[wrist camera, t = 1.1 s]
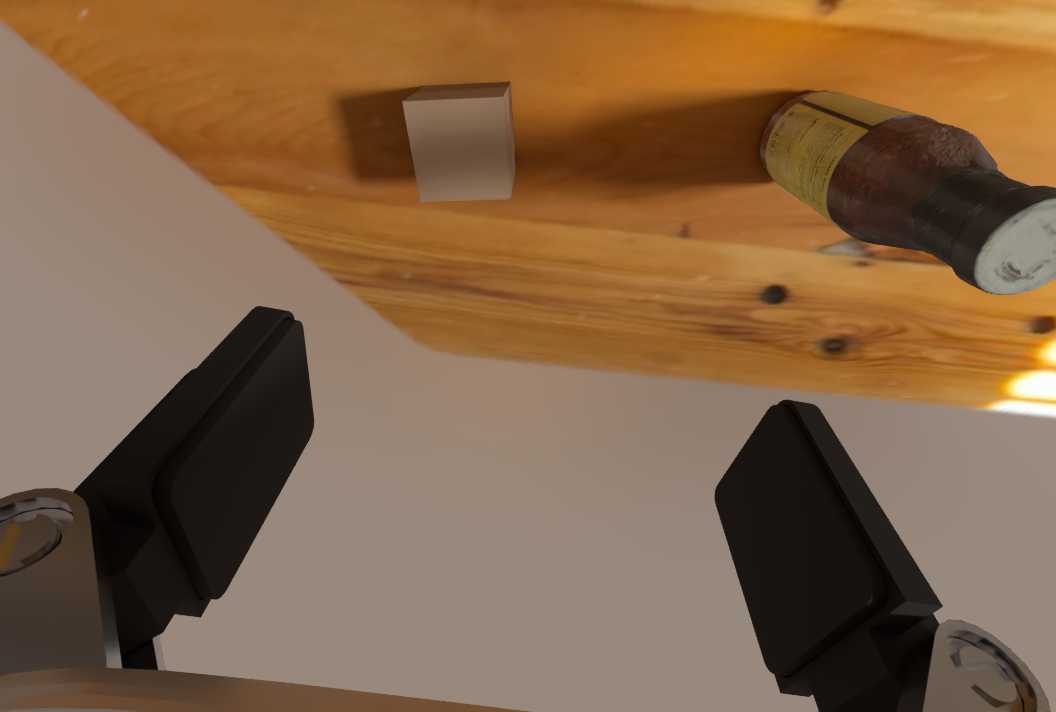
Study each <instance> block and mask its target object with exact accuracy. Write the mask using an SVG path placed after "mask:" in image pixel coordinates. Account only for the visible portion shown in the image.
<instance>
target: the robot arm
mask: <svg viewBox="0 0 1056 712" xmlns="http://www.w3.org/2000/svg"><path fill="white" fill-rule="evenodd" d="M313 427H314V415H313V407H312V398H311V389H310V381H309V372H308V364H307V355H306V347H305V339H304V330H303V325H302V323H301V322H300V321H297V320H294V316H293V314H292V313H291V312H289V311H285V310H279V309H273V308H268V307H262V306H257V307H255V308H254V309H252V310H251V311H250V312H249V314H248V315H247V316H246V317H245V318H244V319H243V320H242V321H241V322H240V323H239V324H238V325H237V326H236V327H235V328H234V329H233V330H232V331H231V332H230V334H229V335H228V336H227V337H226V338H225V339H224V340H223V341H222V342H221V343H220V344H219V345H218V346H217V347H216V348H215V349H214V351H213V352H211V353H210V355H209V356H208V357H207V358H206V359H205V360H204V361H203V362H202V363H201V364H200V365H199V366H198V367H197V368H196V369H193V370H191V371H190V372H189V373H188V374H186V375H185V376H184V377H183V378H182V379H181V380H180V381H179V382H178V384H176V385H175V387H174V388H173V389H172V390H171V391H170V392H169V393H168V394H167V395H166V396H165V397H164V398H163V399H162V400H161V401H160V402H159V403H158V404H157V405H156V406H155V407H154V408H153V409H152V410H151V411H150V413H148V415H147V416H146V417H145V418H144V419H143V420H142V421H141V422H140V423H139V424H138V425H137V426H136V427H135V428H134V429H133V430H132V431H131V432H130V433H129V434H128V435H127V437H125V438H124V439H123V441H122V442H121V443H120V444H119V445H118V446H117V447H116V448H115V449H114V450H113V451H112V452H111V453H110V454H109V455H108V456H107V457H106V458H105V459H104V460H103V461H102V462H101V463H100V464H99V465H98V466H97V467H96V469H95V470H94V471H93V472H92V473H91V474H90V475H89V476H88V477H87V478H86V479H85V480H84V481H83V482H82V483H81V484H80V485H79V486H78V487H77V488H76V489H75V490H74V491H73V492H72V491H68V490H63V489H59V488H41V489H32V490H28V491H24V492H19V493H14V494H11V495H9V496H6V497H4V498H1V499H0V712H528V711H520V710H511V709H503V708H496V707H487V706H479V705H471V704H462V703H454V702H446V701H437V700H429V699H421V698H411V697H403V696H395V695H387V694H378V693H369V692H361V691H353V690H344V689H335V688H327V687H319V686H310V685H302V684H293V683H285V682H274V681H265V680H255V679H245V678H234V677H225V676H215V675H205V674H195V673H194V674H193V673H184V672H175V671H166V668H165V663H164V658H163V652H162V647H161V642H160V636H159V635H160V634H161V633H163V632H164V630H165V629H166V627H167V625H168V624H169V622H170V620H171V619H172V617H173V616H174V614H179V615H186V616H194V617H201V616H202V614H203V613H204V611H205V609H206V607H207V605H208V604H209V602H210V600H211V599H219V598H220V597H221V596H222V595H223V594H224V593H225V591H226V590H227V588H228V587H229V585H230V583H231V581H232V579H233V577H234V576H235V574H236V572H237V570H238V568H239V567H240V564H241V563H242V561H243V559H244V557H245V555H246V554H247V552H248V550H249V548H250V546H251V545H252V543H253V541H254V539H255V537H256V535H257V534H258V532H259V530H260V528H261V526H262V524H263V523H264V521H265V519H266V517H267V516H268V514H269V512H270V510H271V508H272V507H273V505H274V503H275V501H276V499H277V497H278V496H279V494H280V492H281V490H282V488H283V486H284V485H285V483H286V481H287V479H288V477H289V476H290V474H291V472H292V470H293V468H294V466H295V465H296V463H297V461H298V459H299V457H300V456H301V454H302V452H303V450H304V448H305V447H306V445H307V443H308V441H309V439H310V437H311V435H312V431H313ZM715 503H716V507H717V510H718V513H719V516H720V520H721V523H722V526H723V529H724V533H725V536H726V539H727V542H728V545H729V549H730V552H731V555H732V559H733V562H734V565H735V568H736V572H737V575H738V578H739V581H740V585H741V588H742V591H743V594H744V598H745V601H746V604H747V607H748V610H749V614H750V617H751V620H752V624H753V627H754V630H755V633H756V636H757V640H758V643H759V646H760V649H761V652H762V656H763V659H764V662H765V664H766V666H767V668H768V670H769V671H770V672H771V673H773V674H775V678H776V681H777V684H778V687H779V690H780V693H783V694H791V695H799V696H806V697H809V696H811V695H812V694H813V695H814V698H815V701H816V704H817V707H818V712H1051V711H1050V706H1049V702H1048V699H1047V697H1046V695H1045V693H1044V691H1043V689H1042V687H1041V685H1040V683H1039V682H1038V680H1037V679H1036V678H1035V676H1034V675H1033V674H1032V672H1031V671H1030V670H1029V668H1028V667H1027V666H1026V664H1025V663H1024V662H1023V661H1022V660H1021V659H1020V658H1019V657H1018V656H1017V655H1016V654H1015V653H1014V652H1013V651H1012V650H1011V649H1010V648H1008V647H1007V646H1006V645H1004V644H1003V643H1002V642H1001V641H1000V640H998V639H997V638H996V637H994V636H993V635H992V634H989V633H988V632H986V631H985V630H983V629H981V628H979V627H978V626H976V625H973V624H970V623H967V622H964V621H962V620H947V621H945V622H943V623H941V624H939V623H938V621H937V620H936V618H935V616H934V614H933V613H934V612H936V611H937V610H938V609H940V608H941V607H943V606H942V604H941V603H940V601H939V600H938V598H937V596H936V595H935V593H934V592H933V590H932V588H931V587H930V585H929V583H928V582H927V580H926V579H925V577H924V575H923V574H922V573H921V571H920V569H919V567H918V566H917V564H916V563H915V561H914V559H913V558H912V556H911V555H910V553H909V551H908V550H907V548H906V547H905V545H904V544H903V542H902V540H901V539H900V537H899V535H898V534H897V532H896V531H895V529H894V527H893V526H892V524H891V523H890V521H889V519H888V518H887V516H886V515H885V513H884V511H883V510H882V509H881V507H880V505H879V503H878V502H877V500H876V499H875V497H874V495H873V494H872V492H871V491H870V489H869V487H868V486H867V484H866V483H865V481H864V479H863V478H862V476H861V475H860V473H859V471H858V470H857V469H856V467H855V465H854V463H853V462H852V460H851V459H850V457H849V455H848V454H847V452H846V451H845V449H844V447H843V446H842V444H841V443H840V441H839V439H838V438H837V436H836V435H835V433H834V431H833V430H832V428H831V427H830V425H829V423H828V422H827V420H826V419H825V417H824V415H823V414H822V412H821V411H820V409H819V408H818V407H817V406H815V405H813V404H809V403H804V402H798V401H792V400H783V401H781V402H779V404H778V405H773V406H771V407H770V408H769V409H768V411H767V412H766V414H765V415H764V417H763V418H762V419H761V421H760V423H759V424H758V426H757V427H756V428H755V430H754V431H753V433H752V434H751V436H750V437H749V439H748V440H747V442H746V443H745V445H744V446H743V448H742V449H741V451H740V452H739V454H738V455H737V457H736V458H735V460H734V461H733V463H732V464H731V466H730V467H729V469H728V470H727V471H726V473H725V474H724V476H723V477H722V479H721V481H720V482H719V484H718V485H717V487H716V490H715Z"/></svg>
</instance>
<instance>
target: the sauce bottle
mask: <svg viewBox="0 0 1056 712" xmlns="http://www.w3.org/2000/svg"><path fill="white" fill-rule="evenodd" d="M760 158H761V161H762V165H763V167H764V169H765V170H766V172H767V173H768V174H770V176H771V177H772V179H773V180H774V181H775V182H776V183H777V184H779V185H780V186H781V187H783V188H784V189H785V190H787V191H788V192H790V193H791V194H792V195H794V196H795V197H797V198H798V199H800V200H801V201H802V202H804V203H805V204H807V205H808V206H809V207H811V208H812V209H813V210H815V211H816V212H818V213H819V214H820V215H822V216H823V217H825V218H826V219H827V220H829V221H830V222H832V223H833V224H834V225H836V226H837V227H839V228H840V229H842V230H843V231H845V232H846V233H848V234H849V235H851V236H852V237H854V238H856V239H859V240H861V241H864V242H867V243H871V244H877V245H884V246H891V247H897V248H904V249H911V250H918V251H924V252H926V253H928V254H932V255H934V256H935V257H937V258H938V259H940V260H942V261H943V262H945V263H946V264H948V265H949V266H951V267H952V268H953V270H954V272H955V274H956V275H957V276H958V277H959V278H960V279H961V280H963V281H965V282H966V283H968V284H970V285H972V286H974V287H976V288H978V289H980V290H982V291H984V292H986V293H992V294H997V295H1011V294H1020V293H1023V292H1027V291H1032V290H1035V289H1037V288H1039V287H1042V286H1044V285H1046V284H1048V283H1049V282H1051V281H1053V280H1055V279H1056V188H1054V187H1048V186H1029V185H1026V184H1023V183H1021V182H1018V181H1015V180H1012V179H1010V178H1008V177H1007V176H1005V175H1004V174H1003V173H1001V172H999V171H998V169H997V164H996V162H995V161H994V159H993V158H992V157H991V155H990V154H989V153H988V152H987V150H986V149H985V148H984V146H983V145H982V144H981V142H980V141H979V140H978V138H977V137H975V136H974V135H973V134H970V133H969V132H968V131H965V130H963V129H960V128H957V127H954V126H951V125H947V124H942V123H939V122H937V121H935V120H933V119H932V118H929V117H926V116H923V115H919V114H916V113H912V112H908V111H904V110H900V109H897V108H893V107H889V106H886V105H882V104H878V103H875V102H871V101H868V100H865V99H861V98H857V97H854V96H850V95H846V94H842V93H839V92H830V91H827V90H825V91H820V92H811V93H808V94H804V95H801V96H799V97H796V98H793V99H792V100H789V101H787V102H786V103H785V104H784V105H783V106H781V107H780V108H779V109H778V110H777V111H776V113H775V114H774V115H773V116H772V118H771V120H770V121H769V123H768V124H767V126H766V127H765V129H764V132H763V134H762V137H761V142H760Z"/></svg>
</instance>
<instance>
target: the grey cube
mask: <svg viewBox="0 0 1056 712" xmlns="http://www.w3.org/2000/svg"><path fill="white" fill-rule="evenodd" d="M402 103H403V109H404V114H405V120H406V125H407V131H408V136H409V142H410V147H411V153H412V158H413V164H414V170H415V175H416V181H417V186H418V192H419V197H420V202H432V201H464V200H496V199H510V197H511V193H512V188H513V183H514V179H515V174H516V165H515V149H514V132H513V115H512V99H511V82H498V83H477V84H455V85H434V86H423V87H422V88H420V89H419V90H417V91H416V92H415V93H413V94H412V95H410V96H409V97H408V98H406V99H405V100H403V101H402Z"/></svg>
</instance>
